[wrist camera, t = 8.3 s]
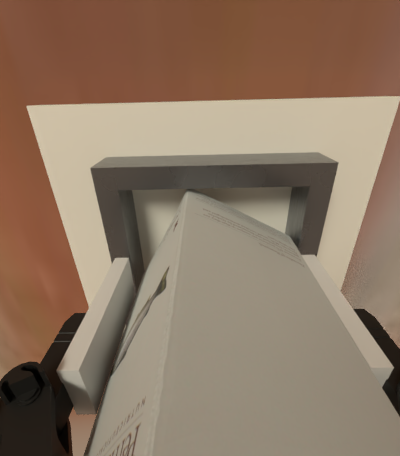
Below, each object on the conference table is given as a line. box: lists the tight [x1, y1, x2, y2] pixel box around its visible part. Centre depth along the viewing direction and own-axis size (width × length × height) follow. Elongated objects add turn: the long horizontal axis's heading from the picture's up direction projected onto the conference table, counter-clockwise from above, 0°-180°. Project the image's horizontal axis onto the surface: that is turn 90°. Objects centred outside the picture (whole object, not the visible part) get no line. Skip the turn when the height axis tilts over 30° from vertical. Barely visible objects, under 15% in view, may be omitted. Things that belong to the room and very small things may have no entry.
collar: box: [90, 152, 339, 324], centre depth 17 cm, size 12×12×2 cm
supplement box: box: [84, 189, 400, 456], centre depth 11 cm, size 7×7×13 cm
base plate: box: [27, 96, 400, 333], centre depth 18 cm, size 18×20×1 cm
